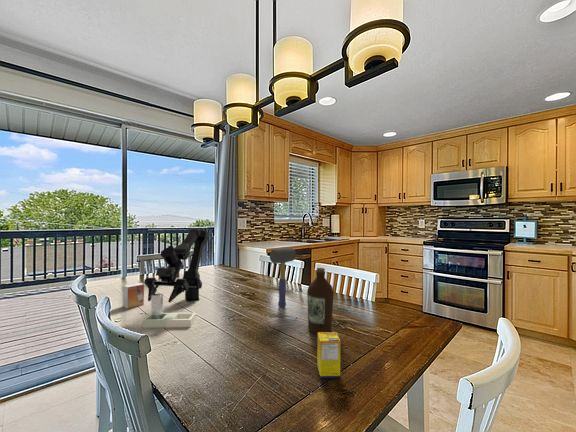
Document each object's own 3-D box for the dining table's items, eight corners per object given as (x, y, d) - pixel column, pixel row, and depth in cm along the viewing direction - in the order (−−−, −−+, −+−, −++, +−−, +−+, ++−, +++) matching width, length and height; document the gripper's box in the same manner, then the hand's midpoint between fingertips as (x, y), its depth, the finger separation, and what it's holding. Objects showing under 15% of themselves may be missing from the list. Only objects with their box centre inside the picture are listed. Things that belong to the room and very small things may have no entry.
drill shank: (162, 320, 118) (162, 293, 118) (162, 324, 114) (162, 295, 114) (151, 322, 116) (151, 294, 116) (150, 326, 112) (151, 297, 112)
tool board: (142, 327, 111) (142, 320, 111) (151, 319, 119) (151, 312, 119) (190, 327, 112) (190, 319, 112) (196, 319, 120) (196, 312, 120)
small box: (127, 309, 132) (127, 287, 132) (122, 306, 135) (122, 285, 135) (144, 304, 138) (144, 284, 138) (139, 302, 141) (139, 282, 141)
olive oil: (313, 322, 118) (314, 265, 118) (336, 328, 113) (337, 267, 113) (302, 331, 109) (303, 269, 109) (327, 338, 104) (328, 272, 103)
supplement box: (336, 367, 84) (336, 331, 84) (340, 378, 78) (341, 340, 78) (316, 367, 84) (317, 331, 84) (319, 379, 78) (320, 340, 78)
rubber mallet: (277, 312, 130) (277, 249, 130) (267, 308, 135) (268, 247, 135) (296, 307, 138) (297, 247, 138) (286, 303, 144) (287, 246, 143)
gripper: (146, 259, 123) (129, 290, 112) (186, 260, 121) (172, 292, 110) (156, 273, 130) (141, 303, 119) (194, 274, 128) (182, 306, 117)
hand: (158, 301), depth 116 cm, fingers open, 9 cm apart
